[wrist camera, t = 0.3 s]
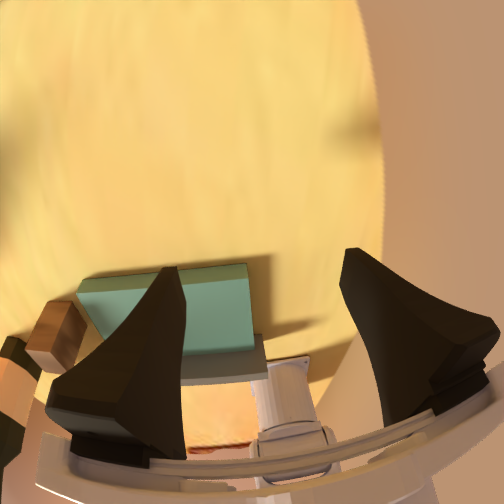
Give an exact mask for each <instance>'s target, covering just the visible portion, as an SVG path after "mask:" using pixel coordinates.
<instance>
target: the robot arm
mask: <svg viewBox="0 0 504 504" xmlns="http://www.w3.org/2000/svg"><path fill="white" fill-rule="evenodd" d="M339 286H340V289H341V292H342V295H343V298H344V301H345V304H346V306H347V308H348V310H349V312H350V314H351V316H352V318H353V320H354V322H355V324H356V327H357V329H358V331H359V333H360V335H361V337H362V339H363V341H364V343H365V346H366V349H367V351H368V354H369V358H370V361H371V364H372V368H373V371H374V375H375V379H376V383H377V387H378V392H379V397H380V401H381V408H382V415H383V422H384V428H383V429H380V430H377V431H374V432H371V433H368V434H365V435H362V436H359V437H355V438H352V439H348V440H345V441H342V442H338V443H337V441H336V438H335V435H334V432H333V430H332V429H331V428H329V427H327V426H321V423H320V421H317V417H316V413H315V409H314V405H313V401H312V397H311V393H310V389H309V385H308V382H307V378H306V376H307V372H308V367H309V362H310V357H309V356H303V357H298V358H291V359H285V360H278V361H271V362H267V367H268V379H264V380H256V381H250V385H251V391H252V396H255V401H256V408H257V415H258V423H259V430H260V432H259V433H258V439H254V440H253V442H252V443H251V444H250V449H249V451H250V452H249V453H250V458H245V459H232V460H198V461H197V460H186V459H187V456H186V449H185V441H184V433H183V422H182V409H181V363H182V354H183V346H184V338H185V330H186V308H187V302H186V298H185V295H184V291H183V288H182V284H181V281H180V277H179V273H178V269H177V266H175V267H165V268H162V269H161V271H160V272H159V273H158V275H157V276H156V278H155V279H154V281H153V282H152V284H151V285H150V286H149V288H148V289H147V291H146V292H145V293H144V295H143V296H142V298H141V299H140V300H139V302H138V303H137V305H136V306H135V307H134V308H133V310H132V311H131V312H130V313H129V315H128V316H127V317H126V318H125V320H124V321H123V322H122V323H121V324H120V325H119V326H118V328H117V329H116V330H115V331H114V332H113V333H112V334H111V335H110V336H109V337H108V338H107V339H106V340H105V341H104V342H103V343H102V344H100V345H99V346H98V347H97V348H96V349H95V350H94V351H93V352H92V353H90V354H89V355H88V356H87V357H86V358H84V359H83V360H82V361H81V362H79V363H78V364H77V365H75V366H74V367H73V368H71V369H70V370H68V371H67V372H65V373H64V374H62V375H61V376H59V377H58V378H56V379H54V380H53V382H52V385H51V388H50V392H49V395H48V399H47V403H46V406H45V412H46V414H47V415H48V417H49V418H50V419H52V420H53V421H54V422H55V423H57V424H58V425H60V426H61V427H62V428H64V429H65V430H67V431H68V432H70V433H71V434H72V440H69V439H67V438H64V437H61V436H57V435H54V434H51V433H47V432H43V434H42V439H41V445H40V450H39V456H38V464H37V472H36V481H35V484H36V485H37V486H39V487H41V488H43V489H45V490H48V491H50V492H52V493H54V494H57V495H59V496H61V497H64V498H67V499H69V500H71V501H74V502H76V503H79V504H439V502H438V499H437V495H436V492H435V488H434V485H433V482H432V478H431V476H433V475H434V474H436V473H438V472H439V471H441V470H442V469H444V468H445V467H447V466H448V465H450V464H451V463H453V462H454V461H456V460H457V459H458V458H460V457H461V456H463V455H464V454H465V453H467V452H468V451H469V450H471V449H472V448H473V447H475V446H476V445H477V444H478V443H480V442H481V441H482V440H483V439H484V438H486V437H487V436H488V435H489V434H490V433H492V432H493V431H494V430H495V429H496V428H497V427H498V426H499V425H500V424H501V423H502V422H504V361H502V362H501V363H500V364H498V365H497V366H495V367H494V368H492V369H491V370H489V371H488V372H487V373H486V374H485V372H484V370H483V369H484V368H485V367H486V364H485V362H484V361H483V359H484V358H485V357H486V356H487V354H488V353H489V352H490V351H491V349H492V348H493V347H494V345H495V344H496V343H497V341H498V339H499V337H500V330H499V328H498V327H497V325H496V324H495V323H494V321H493V320H492V319H491V318H490V317H487V316H483V315H479V314H476V313H472V312H469V311H467V310H464V309H461V308H458V307H456V306H453V305H451V304H449V303H446V302H444V301H442V300H440V299H438V298H436V297H434V296H432V295H430V294H428V293H426V292H425V291H423V290H421V289H419V288H418V287H416V286H414V285H413V284H411V283H410V282H408V281H406V280H405V279H403V278H402V277H400V276H399V275H397V274H396V273H394V272H393V271H392V270H390V269H389V268H387V267H386V266H384V265H383V264H382V263H380V262H379V261H377V260H376V259H375V258H373V257H372V256H370V255H369V254H367V253H366V252H365V251H363V250H361V249H360V248H349V249H346V250H345V256H344V261H343V267H342V272H341V277H340V283H339ZM405 438H406V439H405ZM403 439H405V440H403ZM400 440H403V441H401V442H399V443H397V444H395V445H392V446H390V447H388V448H386V449H385V450H384V451H383V452H382V453H380V454H379V455H377V456H376V457H373V458H372V459H370V460H369V461H368V464H367V465H363V466H360V467H357V468H354V469H350V470H347V471H344V472H341V468H340V461H343V460H347V459H350V458H353V457H357V456H359V455H363V454H366V453H369V452H372V451H375V450H377V449H380V448H383V447H386V446H388V445H391V444H393V443H395V442H398V441H400ZM323 472H325V473H324V474H323V475H322V476H320V477H318V478H314V479H310V480H305V481H300V482H295V483H290V484H283V485H275V484H273V483H271V482H277V481H284V480H290V479H295V478H300V477H304V476H310V475H314V474H318V473H323ZM252 477H254V479H255V482H256V488H257V489H253V490H244V491H236V488H235V487H233V486H228V484H227V483H226V482H212V481H197V480H200V479H201V480H215V479H216V480H217V479H239V478H252ZM187 479H195V480H187Z"/></svg>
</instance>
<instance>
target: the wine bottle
mask: <svg viewBox="0 0 504 504" xmlns="http://www.w3.org/2000/svg"><path fill="white" fill-rule="evenodd" d="M26 345H27V344H26V343H25V342H23V341H22V340H20V339H19V338H14V337H8V336H7V338H6V340H5V342H4V344H3V346H2V349H1V351H0V504H1V494H2V481H3V471H4V467H6V466H7V465H8V464H9V463H10V462H11V461H12V460H13V459H14V458H15V457H17V456H18V455H19V454H20V453H21V449H22V443H23V438H24V433H25V429H26V424H27V420H28V416H29V412H30V408H31V404H32V400H33V397H34V394H35V390H36V387H37V384H38V381H39V378H40V375H41V372H42V368H41V367H40V366H39V365H38V364H37V363H36V362H35V361H34V360H33V358H32V357H31V356H30V355H29V354H28V353H27V352H26V350H25V347H26Z"/></svg>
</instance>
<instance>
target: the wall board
mask: <svg viewBox="0 0 504 504" xmlns="http://www.w3.org/2000/svg"><path fill="white" fill-rule="evenodd" d="M158 273H159V272H157V273H147V274H137V275H127V276H117V277H106V278H96V279H85V280H82V282H81V284H80V286H79V288H78V290H77V292H76V295H77V297H78V298H79V300H80V302H81V304H82V305H83V307H84V309H85V310H86V312H87V314H88V315H89V317H90V319H91V320H92V322H93V324H94V325H95V327H96V328H97V330H98V331H99V333H100V334H101V336H102V337H103V339H104V340H106V339H107V338H108V337H109V336H110V335H111V334H112V333H113V332H114V331H115V330H116V329H117V328H118V326H119V325H120V324H121V323H122V322H123V321H124V320H125V318H126V317H127V316H128V315H129V313H130V312H131V311H132V310H133V308H134V307H135V306H136V305H137V303H138V302H139V300H140V299H141V298H142V296H143V295H144V293H145V292H146V291H147V289H148V288H149V286H150V285H151V284H152V282H153V281H154V279H155V278H156V276H157V275H158ZM178 273H179V277H180V281H181V284H182V288H183V291H184V295H185V298H186V302H187V308H186V330H185V338H184V346H183V354H182V363H181V386H194V385H212V384H226V383H237V382H247V381H256V380H264V379H268V367H267V362H266V356H265V350H264V344H263V338H262V334H258V335H253V324H252V313H251V302H250V290H249V279H248V272H247V265H246V263H243V264H234V265H225V266H215V267H206V268H196V269H187V270H178Z"/></svg>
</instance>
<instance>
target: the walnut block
mask: <svg viewBox="0 0 504 504" xmlns="http://www.w3.org/2000/svg"><path fill="white" fill-rule="evenodd" d="M86 328H87V324H86V323H85V321H84V320H83V318H82V317H81V315H80V313H79V312H78V310H77V308H76V307H75V305H74V303H73V302H72V301H59V302H47V303H46V305H45V307H44V309H43V311H42V313H41V315H40V317H39V319H38V321H37V323H36V325H35V327H34V329H33V332H32V334H31V336H30V338H29V340H28V343H27V345H26V347H25V350H26V352H27V353H28V354H29V355H30V356H31V357H32V358H33V360H34V361H35V362H36V363H37V364H38V365H39V366H40V367H41V368H42V369H43V370H44V371H45V372H48V373H55V374H64V373H65V372H67V371H68V370H70V369H71V368H73V367H74V364H75V360H76V357H77V354H78V351H79V348H80V345H81V342H82V339H83V336H84V333H85V331H86Z"/></svg>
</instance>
